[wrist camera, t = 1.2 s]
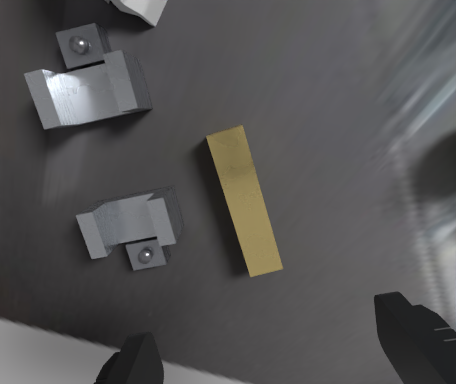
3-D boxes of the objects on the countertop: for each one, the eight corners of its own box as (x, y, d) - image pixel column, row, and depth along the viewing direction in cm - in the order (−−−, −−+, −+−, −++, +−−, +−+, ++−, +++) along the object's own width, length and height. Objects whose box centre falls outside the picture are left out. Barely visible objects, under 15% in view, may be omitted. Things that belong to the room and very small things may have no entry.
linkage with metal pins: (119, 264, 29) (102, 287, 26) (44, 44, 24) (8, 31, 20) (191, 251, 29) (184, 272, 25) (129, 22, 24) (109, 5, 20)
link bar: (248, 260, 29) (250, 277, 26) (209, 134, 26) (206, 136, 23) (278, 253, 29) (283, 268, 26) (241, 124, 26) (242, 125, 23)
